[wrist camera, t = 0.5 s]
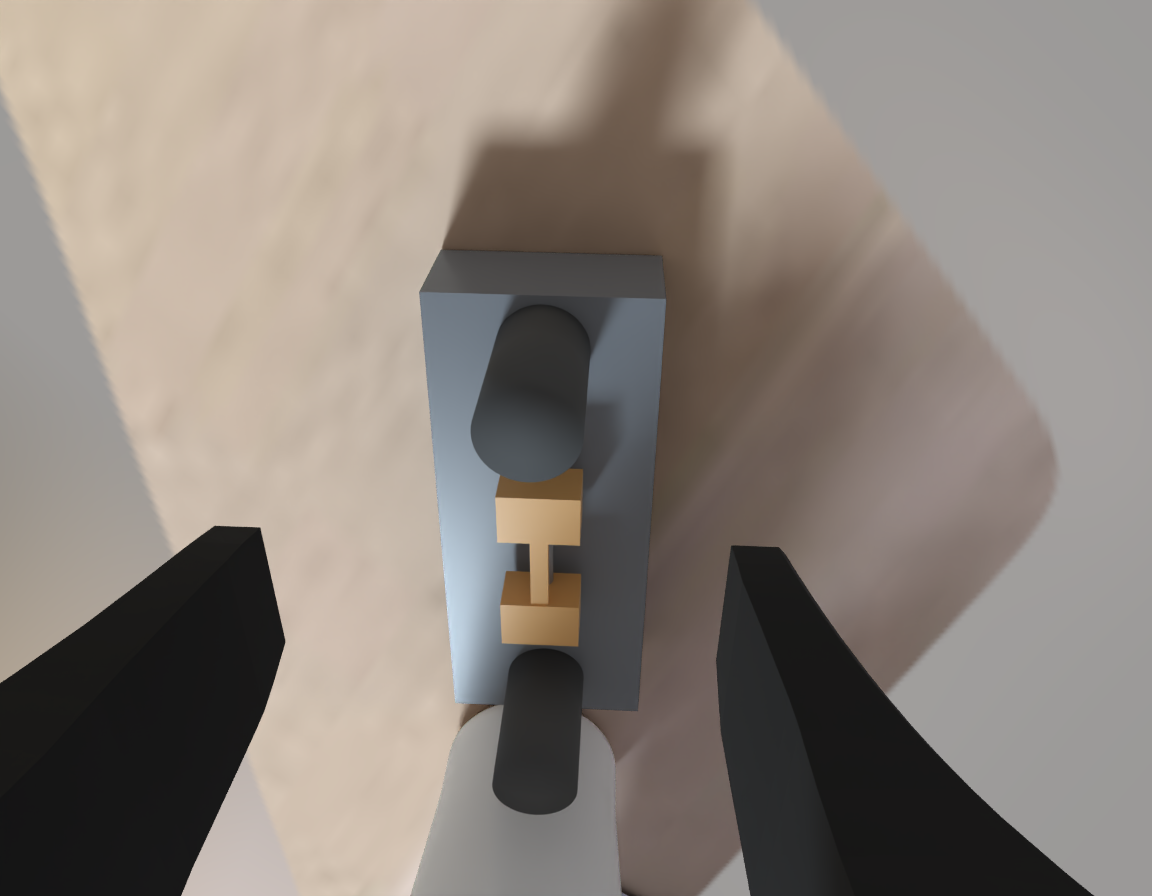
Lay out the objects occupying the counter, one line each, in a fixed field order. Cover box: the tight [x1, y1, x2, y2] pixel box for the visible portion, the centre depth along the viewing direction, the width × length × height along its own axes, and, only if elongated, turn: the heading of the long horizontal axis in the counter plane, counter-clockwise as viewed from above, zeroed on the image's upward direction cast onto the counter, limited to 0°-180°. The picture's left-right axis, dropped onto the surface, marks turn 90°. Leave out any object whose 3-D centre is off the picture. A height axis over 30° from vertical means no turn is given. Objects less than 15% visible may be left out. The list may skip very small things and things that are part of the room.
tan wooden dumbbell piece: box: [495, 469, 583, 647], centre depth 20 cm, size 4×2×1 cm, turn 179°
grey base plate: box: [419, 250, 666, 711], centre depth 22 cm, size 12×5×2 cm, turn 0°
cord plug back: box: [492, 648, 584, 815], centre depth 22 cm, size 2×2×4 cm
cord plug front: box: [471, 304, 591, 482], centre depth 17 cm, size 2×2×4 cm
